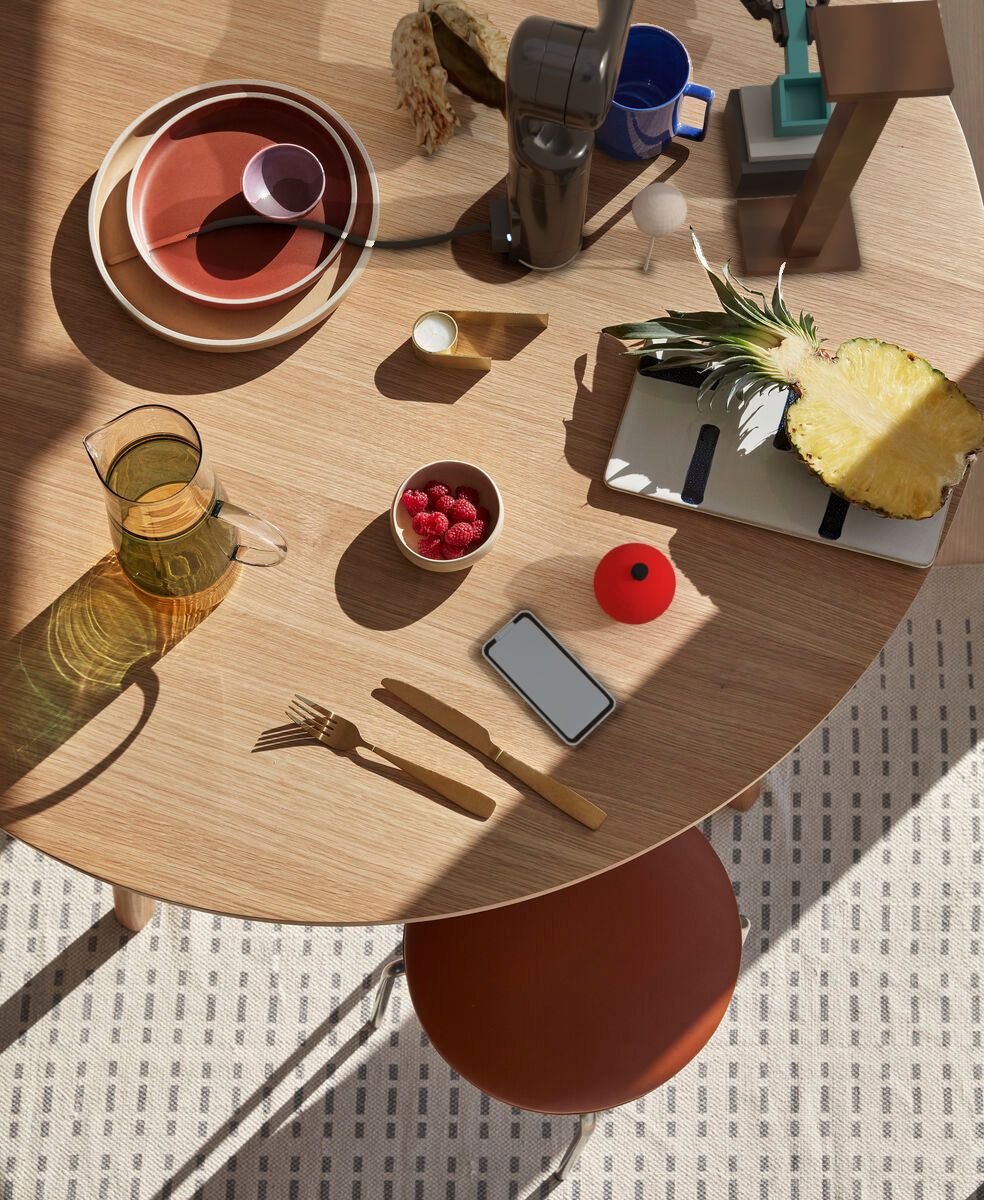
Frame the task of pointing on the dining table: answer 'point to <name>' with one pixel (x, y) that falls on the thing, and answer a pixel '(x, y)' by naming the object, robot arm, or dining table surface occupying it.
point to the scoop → (798, 83)
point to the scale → (763, 147)
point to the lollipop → (658, 212)
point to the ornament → (634, 583)
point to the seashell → (446, 65)
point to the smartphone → (548, 677)
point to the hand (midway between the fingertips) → (797, 40)
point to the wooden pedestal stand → (846, 131)
